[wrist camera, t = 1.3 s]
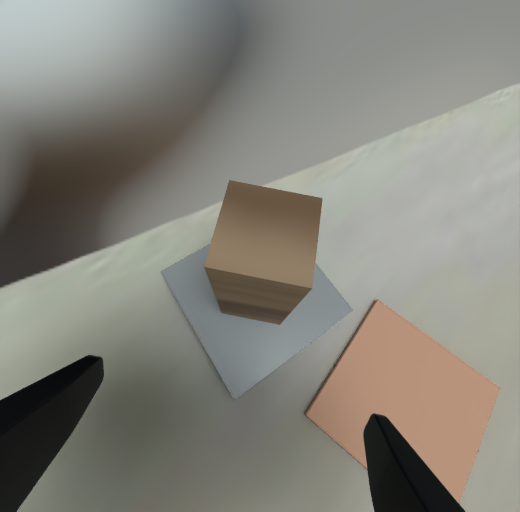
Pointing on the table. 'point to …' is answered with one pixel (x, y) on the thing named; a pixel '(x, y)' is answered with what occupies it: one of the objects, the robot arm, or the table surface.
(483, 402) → the terracotta mat
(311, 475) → the table surface
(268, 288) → the walnut block
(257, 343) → the grey ledge
